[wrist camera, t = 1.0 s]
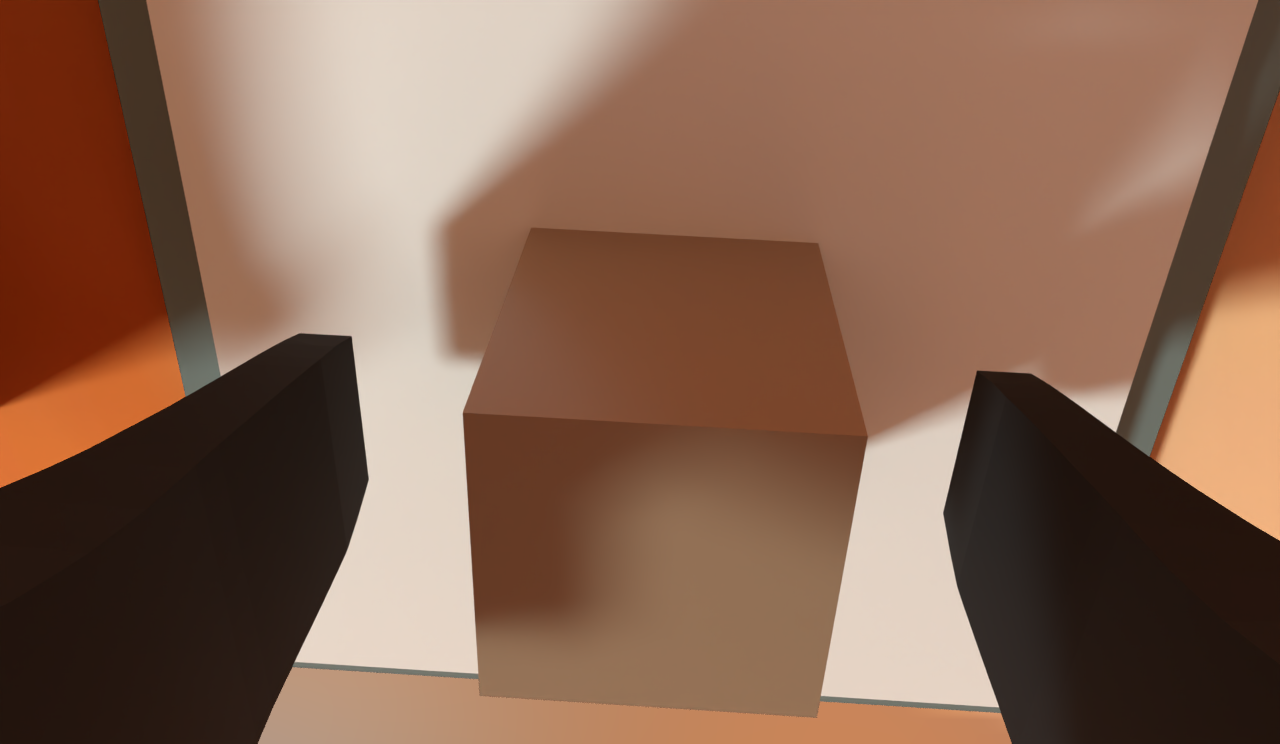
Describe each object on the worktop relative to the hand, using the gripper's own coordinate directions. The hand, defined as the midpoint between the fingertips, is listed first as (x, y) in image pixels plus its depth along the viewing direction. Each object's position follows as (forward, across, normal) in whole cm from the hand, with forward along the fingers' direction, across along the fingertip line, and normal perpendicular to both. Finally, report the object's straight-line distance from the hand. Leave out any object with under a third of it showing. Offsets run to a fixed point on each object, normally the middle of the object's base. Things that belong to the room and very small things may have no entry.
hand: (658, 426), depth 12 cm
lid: (+2, 0, 0) cm, 2 cm away
